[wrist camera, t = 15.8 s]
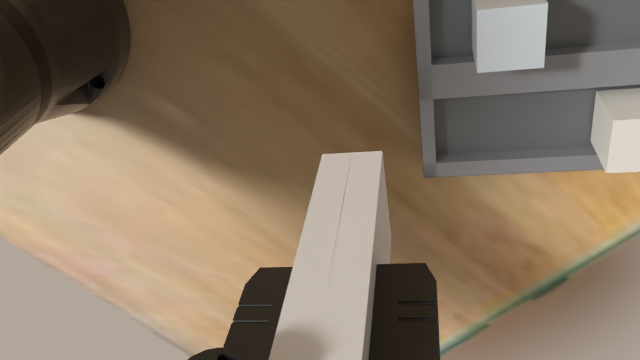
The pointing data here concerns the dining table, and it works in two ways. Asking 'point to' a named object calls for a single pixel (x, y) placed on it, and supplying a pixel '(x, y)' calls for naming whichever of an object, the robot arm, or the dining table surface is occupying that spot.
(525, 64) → the pale grey cube
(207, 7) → the dining table surface
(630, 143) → the off-white cube
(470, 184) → the dining table surface
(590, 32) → the gray divided tray
